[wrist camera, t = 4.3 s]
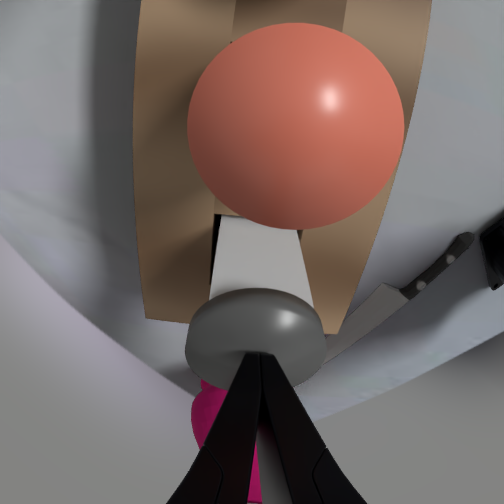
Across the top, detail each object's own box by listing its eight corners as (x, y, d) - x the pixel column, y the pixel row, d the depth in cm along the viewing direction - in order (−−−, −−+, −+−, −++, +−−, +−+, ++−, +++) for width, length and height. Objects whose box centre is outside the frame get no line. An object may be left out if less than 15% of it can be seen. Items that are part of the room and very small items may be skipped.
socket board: (321, 276, 21) (337, 333, 17) (164, 261, 20) (145, 318, 16) (391, -73, 8) (435, -102, 4) (195, -105, 8) (176, -149, 4)
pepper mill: (179, 366, 26) (152, 596, 10) (242, 331, 24) (239, 617, 7) (236, 399, 29) (233, 597, 13) (298, 372, 27) (318, 600, 10)
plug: (290, 277, 16) (307, 395, 11) (205, 269, 16) (187, 388, 10) (308, 201, 14) (344, 313, 8) (210, 190, 14) (182, 300, 8)
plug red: (318, 151, 13) (373, 239, 7) (214, 138, 12) (182, 219, 7) (336, 52, 10) (422, 56, 5) (225, 35, 10) (197, 11, 4)
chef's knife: (273, 365, 27) (298, 377, 28) (273, 375, 26) (299, 387, 27) (453, 208, 18) (472, 233, 19) (461, 215, 17) (479, 241, 18)
